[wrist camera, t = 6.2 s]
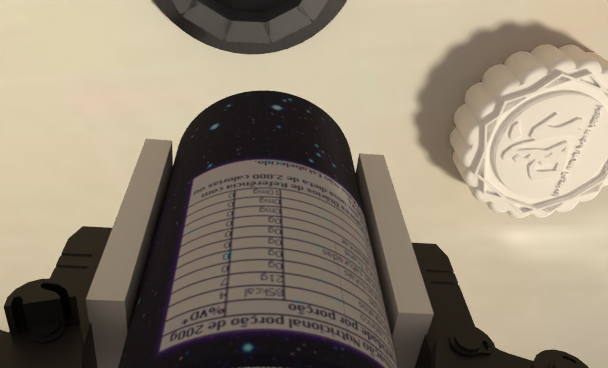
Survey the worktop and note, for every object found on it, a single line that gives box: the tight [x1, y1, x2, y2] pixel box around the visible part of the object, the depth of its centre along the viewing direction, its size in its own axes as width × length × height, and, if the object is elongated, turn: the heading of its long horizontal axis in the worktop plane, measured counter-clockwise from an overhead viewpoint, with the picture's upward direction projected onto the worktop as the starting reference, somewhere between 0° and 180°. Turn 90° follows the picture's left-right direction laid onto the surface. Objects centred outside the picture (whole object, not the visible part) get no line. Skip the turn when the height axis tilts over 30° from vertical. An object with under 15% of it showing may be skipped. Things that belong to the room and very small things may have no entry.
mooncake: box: [450, 44, 608, 218], centre depth 39 cm, size 12×12×4 cm
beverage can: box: [118, 91, 399, 368], centre depth 14 cm, size 6×6×12 cm
